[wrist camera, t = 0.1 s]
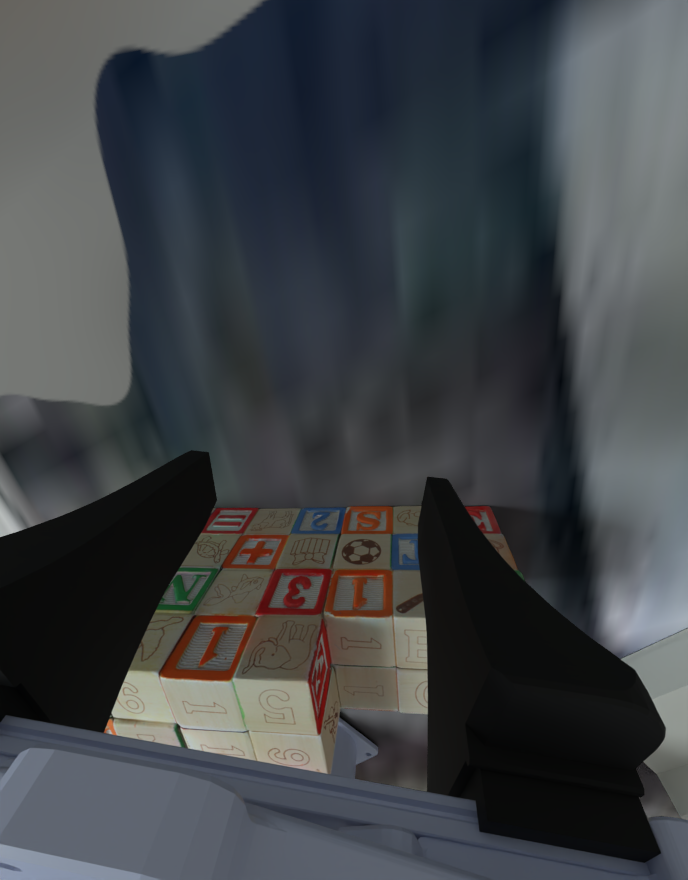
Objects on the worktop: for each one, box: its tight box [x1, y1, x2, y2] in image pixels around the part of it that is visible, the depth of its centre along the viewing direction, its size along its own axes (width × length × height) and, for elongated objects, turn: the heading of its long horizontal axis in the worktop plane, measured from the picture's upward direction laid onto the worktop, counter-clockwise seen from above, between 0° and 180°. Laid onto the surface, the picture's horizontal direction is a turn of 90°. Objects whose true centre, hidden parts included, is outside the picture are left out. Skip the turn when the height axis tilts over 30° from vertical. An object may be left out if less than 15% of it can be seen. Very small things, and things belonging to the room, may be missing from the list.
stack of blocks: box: [104, 506, 525, 774], centre depth 21 cm, size 21×6×12 cm, turn 95°
